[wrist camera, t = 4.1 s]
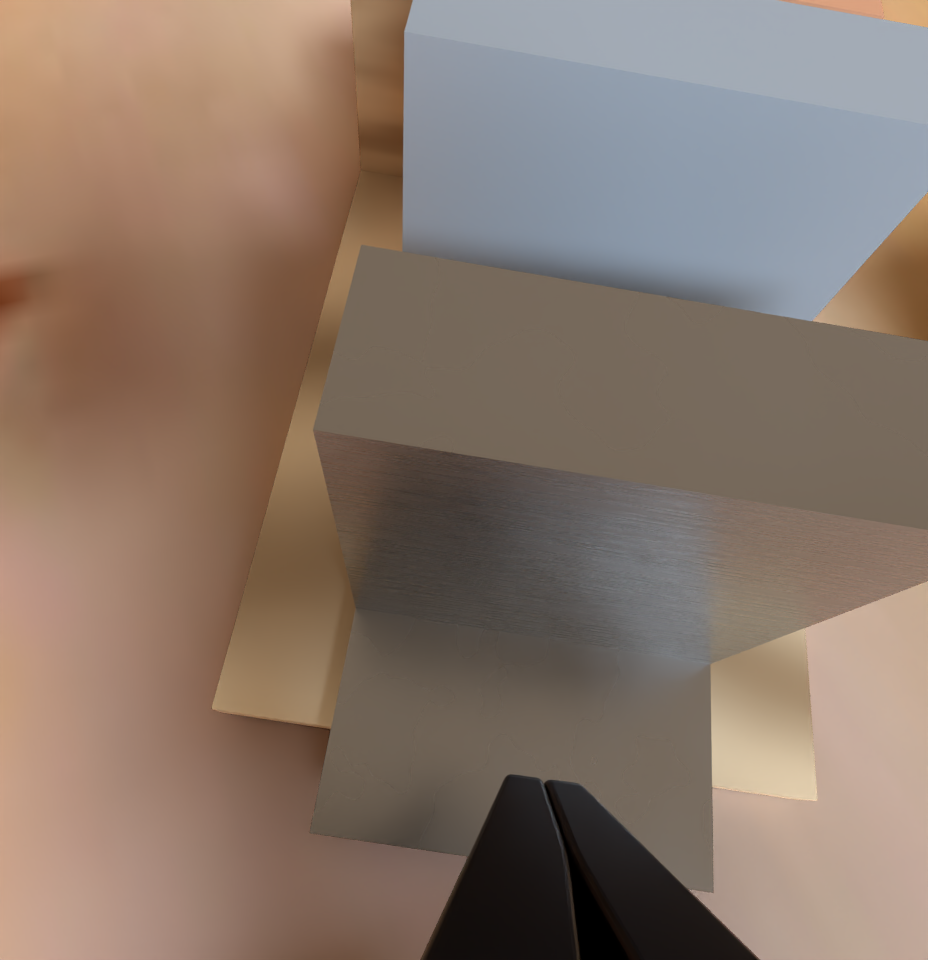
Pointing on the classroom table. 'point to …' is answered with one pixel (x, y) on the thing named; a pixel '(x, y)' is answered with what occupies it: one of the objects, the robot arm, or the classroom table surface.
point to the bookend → (588, 534)
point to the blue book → (663, 143)
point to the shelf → (315, 543)
